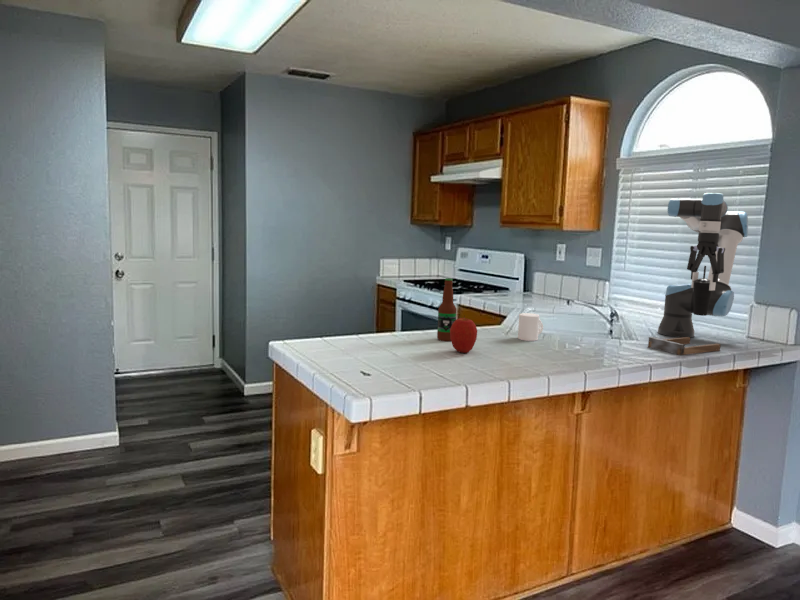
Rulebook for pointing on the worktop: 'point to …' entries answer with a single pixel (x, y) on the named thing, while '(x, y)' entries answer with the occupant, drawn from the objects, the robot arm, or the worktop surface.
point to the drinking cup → (701, 295)
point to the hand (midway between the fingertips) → (702, 289)
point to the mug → (529, 327)
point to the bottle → (446, 312)
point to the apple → (463, 334)
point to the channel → (680, 346)
